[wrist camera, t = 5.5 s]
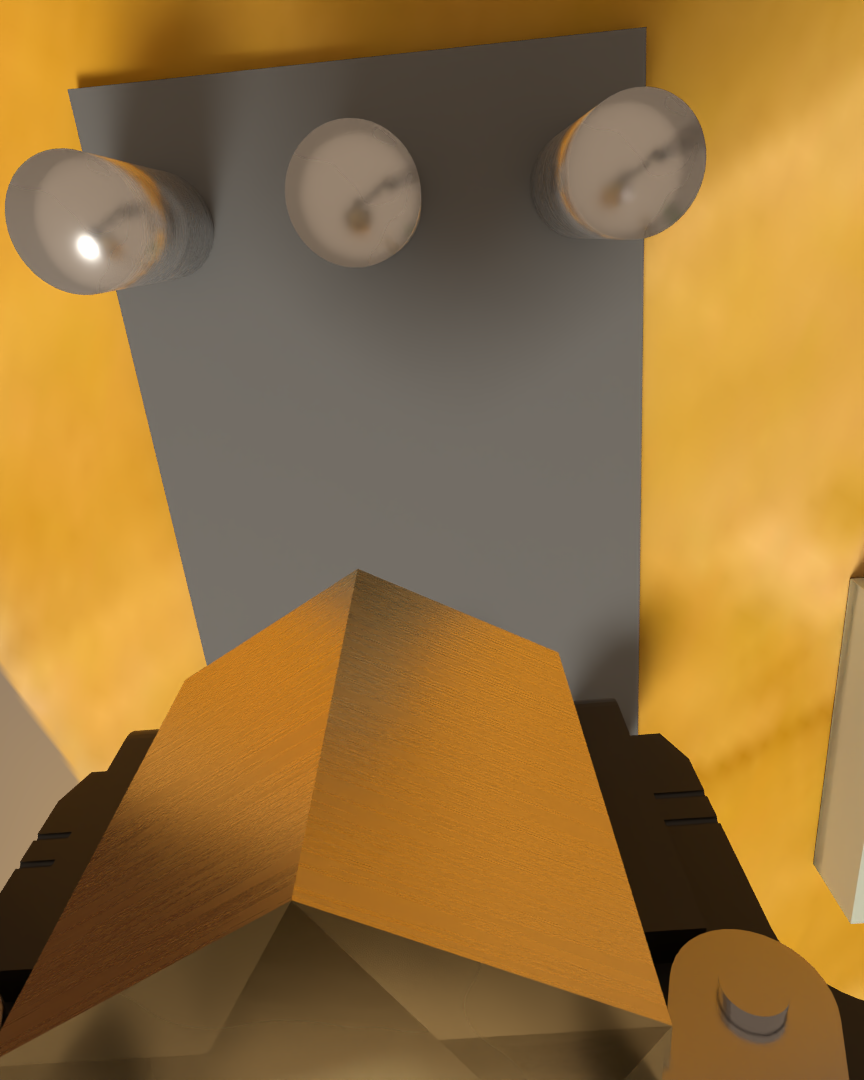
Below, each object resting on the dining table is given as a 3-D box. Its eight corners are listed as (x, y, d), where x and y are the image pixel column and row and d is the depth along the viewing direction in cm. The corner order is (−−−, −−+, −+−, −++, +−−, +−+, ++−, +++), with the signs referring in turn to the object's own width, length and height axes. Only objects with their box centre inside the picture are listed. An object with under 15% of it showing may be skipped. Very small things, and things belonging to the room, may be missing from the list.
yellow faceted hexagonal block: (161, 584, 9) (-89, 925, 5) (556, 553, 9) (682, 874, 5) (243, 913, 12) (125, 1358, 7) (563, 892, 12) (652, 1333, 7)
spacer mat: (77, 93, 17) (67, 89, 17) (640, 33, 17) (646, 26, 17) (252, 830, 26) (249, 841, 25) (633, 798, 25) (637, 809, 25)
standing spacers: (101, 176, 18) (-13, 155, 13) (631, 120, 17) (709, 79, 13) (248, 797, 24) (208, 929, 20) (628, 766, 24) (677, 891, 20)
